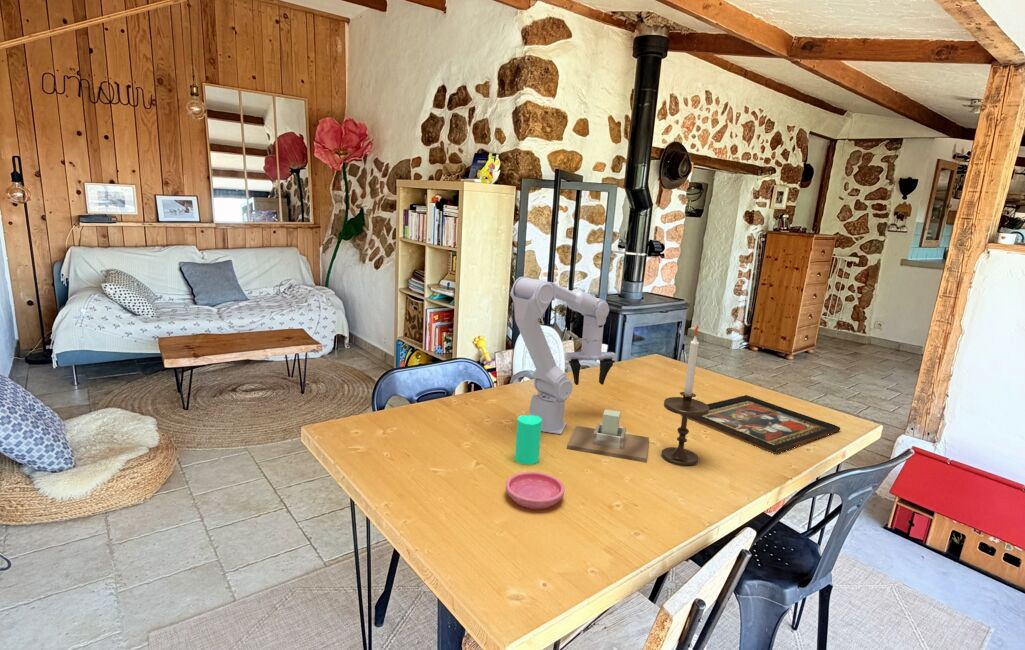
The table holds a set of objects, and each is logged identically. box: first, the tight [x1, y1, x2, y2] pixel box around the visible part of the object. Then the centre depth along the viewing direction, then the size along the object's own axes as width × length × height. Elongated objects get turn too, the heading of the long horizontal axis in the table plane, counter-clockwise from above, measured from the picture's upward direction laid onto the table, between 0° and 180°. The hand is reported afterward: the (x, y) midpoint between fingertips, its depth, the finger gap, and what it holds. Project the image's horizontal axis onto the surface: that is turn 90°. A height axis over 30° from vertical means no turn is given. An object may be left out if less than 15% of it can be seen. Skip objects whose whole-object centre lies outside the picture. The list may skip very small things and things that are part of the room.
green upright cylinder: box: [514, 414, 542, 466], centre depth 135 cm, size 6×6×12 cm
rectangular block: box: [601, 408, 621, 436], centre depth 146 cm, size 4×4×8 cm
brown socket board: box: [566, 422, 650, 463], centre depth 147 cm, size 20×14×4 cm
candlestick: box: [660, 323, 710, 467], centre depth 138 cm, size 11×11×35 cm
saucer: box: [505, 471, 565, 510], centre depth 118 cm, size 12×12×3 cm
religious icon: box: [687, 394, 841, 455], centre depth 169 cm, size 38×35×3 cm
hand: (588, 383), depth 164 cm, fingers open, 7 cm apart
